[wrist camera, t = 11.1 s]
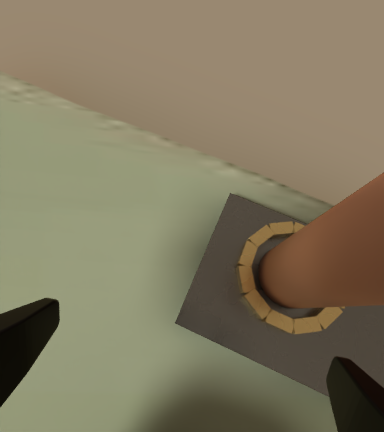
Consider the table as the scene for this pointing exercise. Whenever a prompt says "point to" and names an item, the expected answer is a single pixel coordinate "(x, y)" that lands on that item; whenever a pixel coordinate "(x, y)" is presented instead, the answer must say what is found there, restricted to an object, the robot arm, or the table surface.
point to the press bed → (273, 305)
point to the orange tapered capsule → (332, 256)
